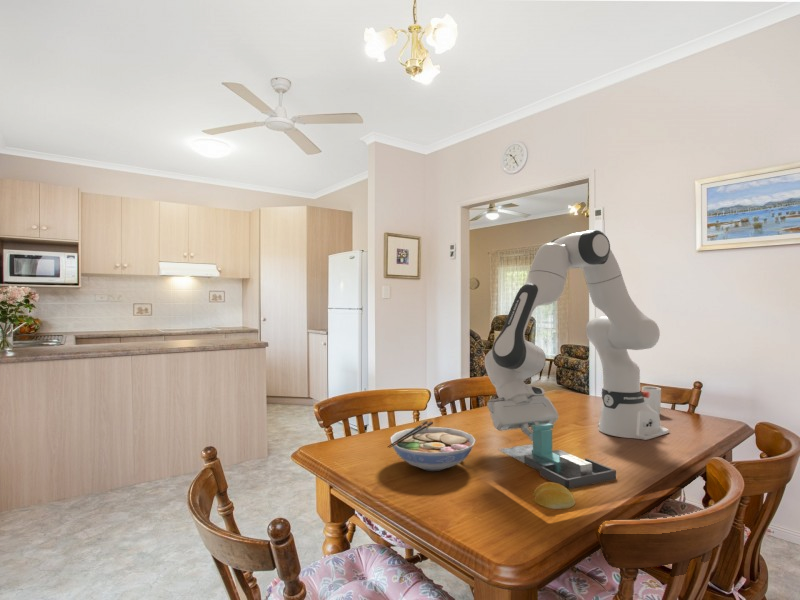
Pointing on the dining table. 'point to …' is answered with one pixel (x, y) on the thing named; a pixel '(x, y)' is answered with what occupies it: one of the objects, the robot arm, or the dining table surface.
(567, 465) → the beige cube
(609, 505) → the dining table surface
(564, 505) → the bread roll
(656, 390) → the drinking glass
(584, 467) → the chip
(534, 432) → the rake tool
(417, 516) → the dining table surface
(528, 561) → the dining table surface
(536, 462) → the slot board
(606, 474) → the tray
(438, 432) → the ramen bowl
